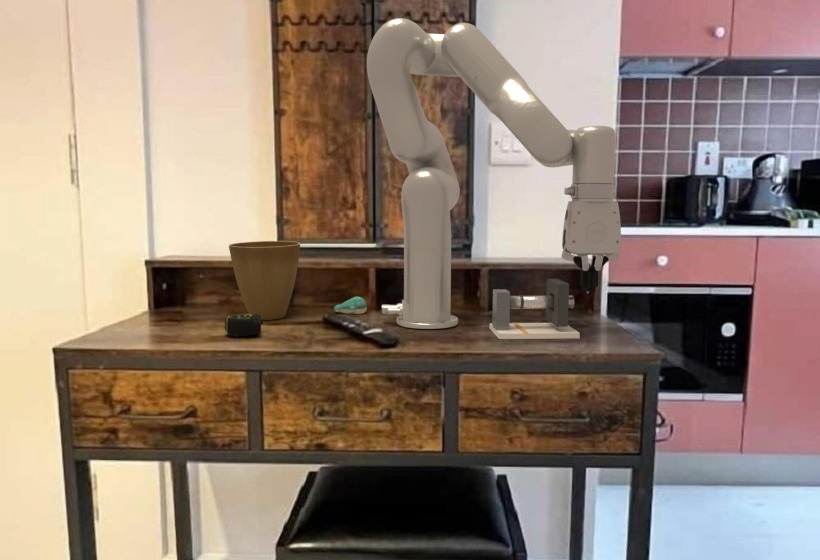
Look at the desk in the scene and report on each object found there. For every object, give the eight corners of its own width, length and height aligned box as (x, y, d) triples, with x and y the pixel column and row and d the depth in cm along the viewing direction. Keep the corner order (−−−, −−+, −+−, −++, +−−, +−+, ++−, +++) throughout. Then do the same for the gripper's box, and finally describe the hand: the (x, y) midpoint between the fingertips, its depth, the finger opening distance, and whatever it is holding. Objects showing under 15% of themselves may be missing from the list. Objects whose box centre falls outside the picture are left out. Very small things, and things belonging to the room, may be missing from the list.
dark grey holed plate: (557, 326, 121) (558, 284, 120) (545, 318, 129) (546, 278, 128) (567, 326, 121) (569, 283, 120) (555, 318, 129) (557, 278, 128)
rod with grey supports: (496, 330, 123) (496, 292, 122) (492, 326, 127) (493, 289, 126) (574, 329, 124) (576, 292, 123) (568, 325, 128) (569, 289, 127)
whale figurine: (367, 315, 145) (367, 298, 144) (334, 316, 144) (334, 299, 143) (365, 311, 150) (365, 294, 150) (333, 311, 149) (333, 295, 149)
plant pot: (245, 310, 149) (243, 240, 147) (309, 311, 148) (307, 241, 146) (220, 323, 134) (217, 245, 132) (291, 324, 133) (289, 246, 131)
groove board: (499, 339, 120) (499, 333, 120) (489, 328, 130) (489, 322, 130) (579, 338, 121) (579, 332, 121) (563, 327, 131) (564, 322, 130)
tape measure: (261, 339, 120) (260, 319, 120) (222, 340, 119) (222, 319, 119) (263, 331, 127) (263, 312, 127) (227, 332, 126) (226, 313, 126)
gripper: (558, 193, 118) (555, 293, 121) (639, 194, 119) (634, 293, 122) (547, 193, 126) (544, 288, 128) (623, 194, 127) (619, 288, 129)
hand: (588, 290), depth 125 cm, fingers closed
